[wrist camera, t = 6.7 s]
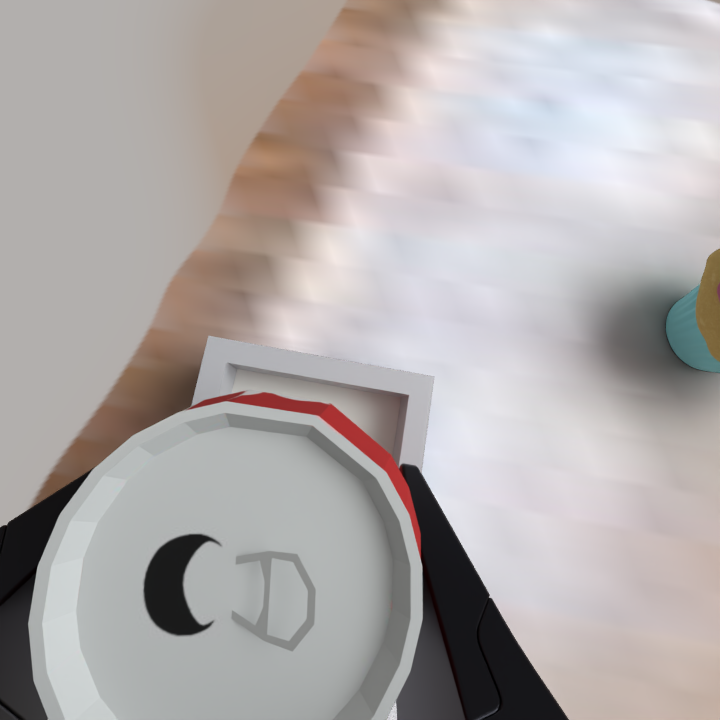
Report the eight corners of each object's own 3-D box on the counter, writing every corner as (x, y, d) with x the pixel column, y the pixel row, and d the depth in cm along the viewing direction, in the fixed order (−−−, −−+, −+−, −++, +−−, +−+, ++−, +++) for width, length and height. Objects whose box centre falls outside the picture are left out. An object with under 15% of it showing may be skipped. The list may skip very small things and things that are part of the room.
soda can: (366, 414, 17) (451, 383, 5) (363, 544, 16) (460, 869, 4) (241, 410, 17) (25, 369, 5) (230, 544, 16) (-74, 904, 4)
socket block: (384, 577, 19) (401, 622, 15) (189, 547, 19) (146, 585, 14) (412, 386, 21) (434, 376, 17) (234, 354, 21) (208, 335, 16)
